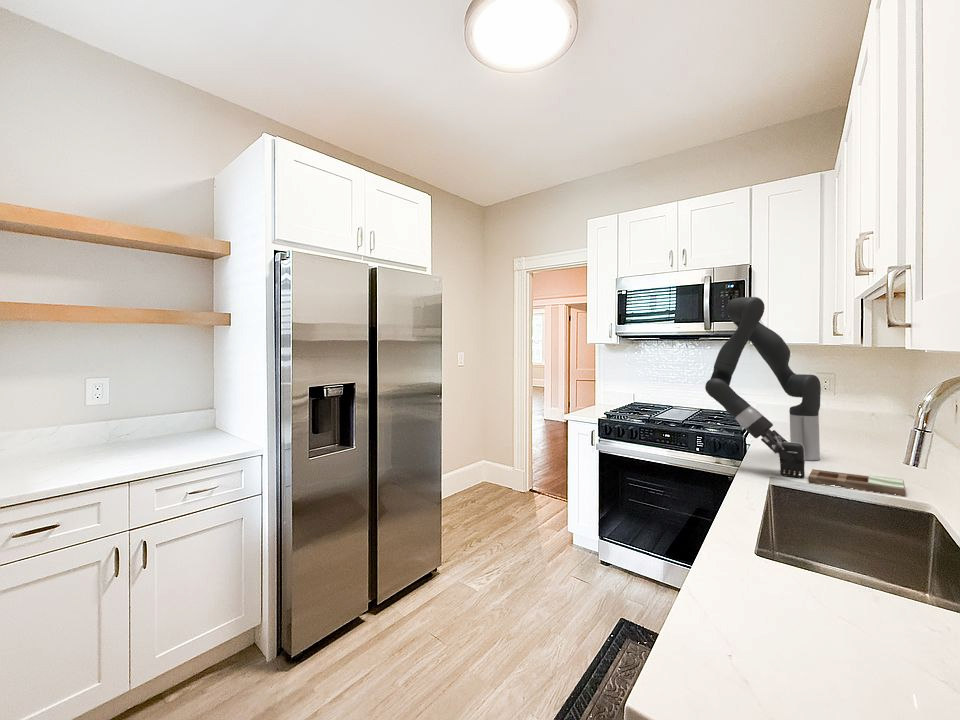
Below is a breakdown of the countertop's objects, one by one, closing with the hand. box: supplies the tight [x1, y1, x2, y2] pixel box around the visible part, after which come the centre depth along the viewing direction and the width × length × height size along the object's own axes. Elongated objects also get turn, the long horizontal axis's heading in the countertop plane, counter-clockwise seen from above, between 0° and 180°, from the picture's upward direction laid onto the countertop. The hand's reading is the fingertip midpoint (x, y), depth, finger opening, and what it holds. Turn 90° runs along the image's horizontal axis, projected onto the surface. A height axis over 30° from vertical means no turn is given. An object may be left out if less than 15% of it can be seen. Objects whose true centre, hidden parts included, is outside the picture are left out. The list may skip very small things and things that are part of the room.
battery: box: [778, 441, 806, 479], centre depth 144 cm, size 7×4×11 cm, turn 47°
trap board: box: [807, 468, 906, 497], centre depth 133 cm, size 12×22×2 cm, turn 47°
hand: (794, 458), depth 144 cm, fingers open, 8 cm apart
